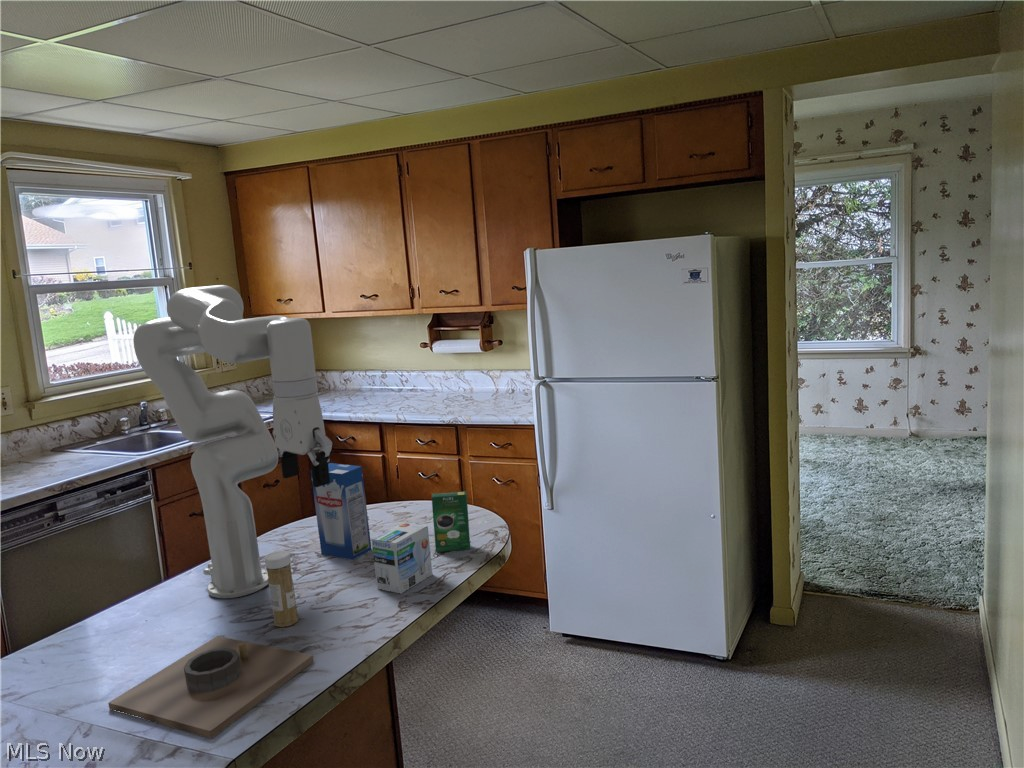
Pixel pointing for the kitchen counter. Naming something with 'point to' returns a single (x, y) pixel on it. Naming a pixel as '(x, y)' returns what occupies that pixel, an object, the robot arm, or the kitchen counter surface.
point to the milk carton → (342, 513)
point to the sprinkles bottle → (281, 588)
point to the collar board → (211, 704)
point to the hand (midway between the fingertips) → (306, 480)
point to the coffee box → (451, 521)
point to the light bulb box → (402, 557)
